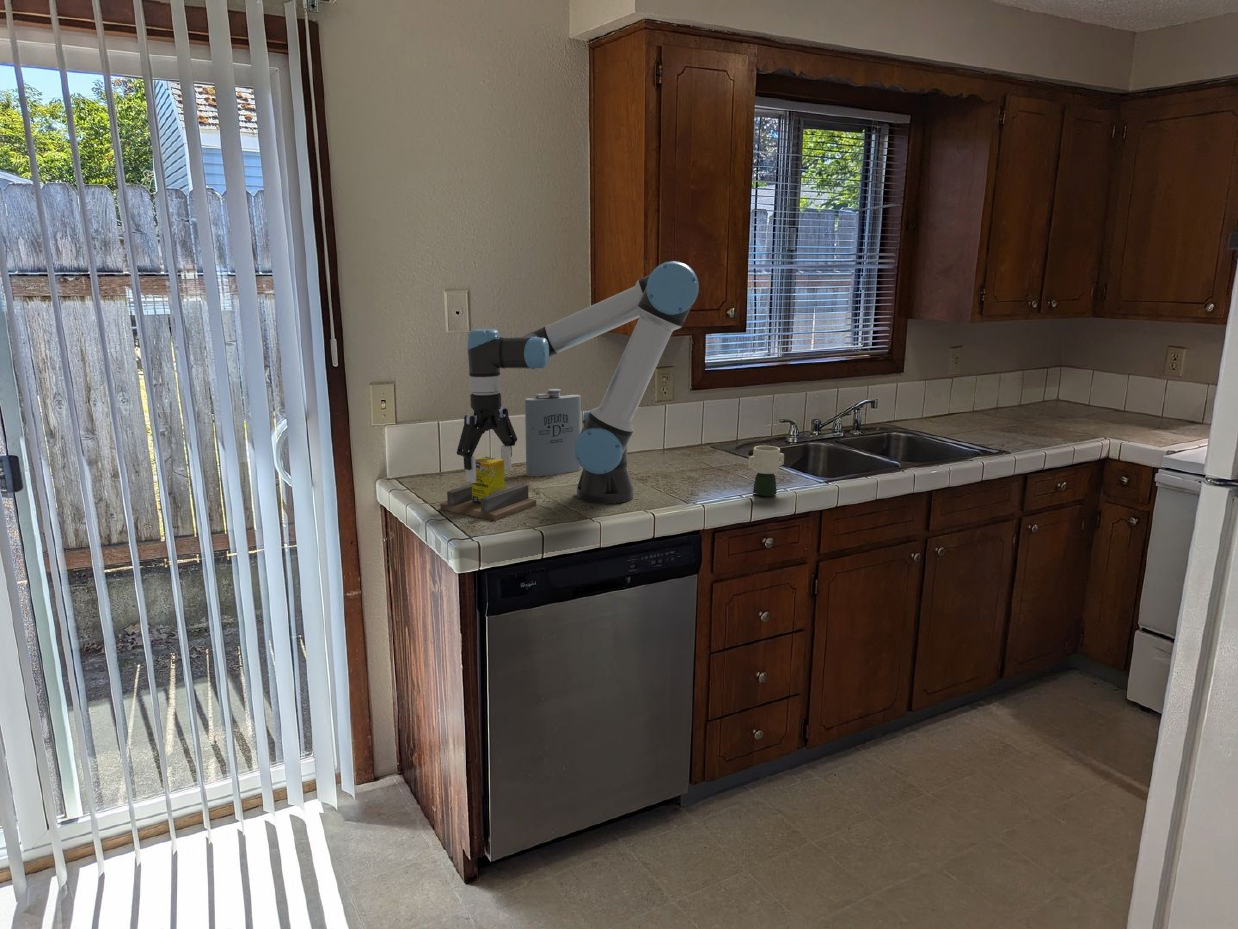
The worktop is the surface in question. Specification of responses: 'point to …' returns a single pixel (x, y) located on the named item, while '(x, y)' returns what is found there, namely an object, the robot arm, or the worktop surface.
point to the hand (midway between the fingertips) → (489, 476)
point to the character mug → (765, 468)
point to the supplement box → (488, 478)
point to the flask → (552, 433)
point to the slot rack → (488, 502)
